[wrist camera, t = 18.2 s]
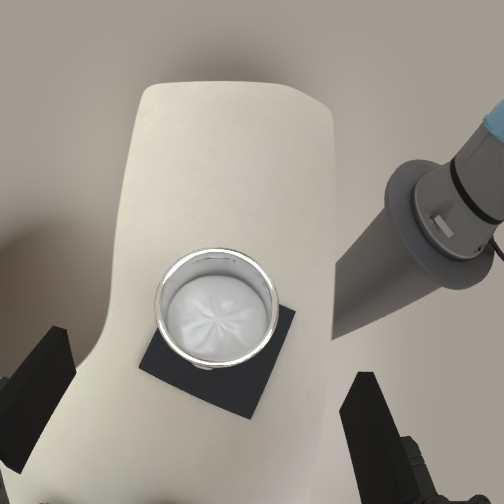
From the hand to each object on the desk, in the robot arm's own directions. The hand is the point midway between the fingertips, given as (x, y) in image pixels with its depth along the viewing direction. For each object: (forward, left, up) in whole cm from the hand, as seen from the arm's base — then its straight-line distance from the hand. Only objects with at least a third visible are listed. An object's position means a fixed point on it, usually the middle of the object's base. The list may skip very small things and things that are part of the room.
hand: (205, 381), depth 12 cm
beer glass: (+1, -4, -17) cm, 18 cm away
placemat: (+1, -4, -18) cm, 18 cm away
